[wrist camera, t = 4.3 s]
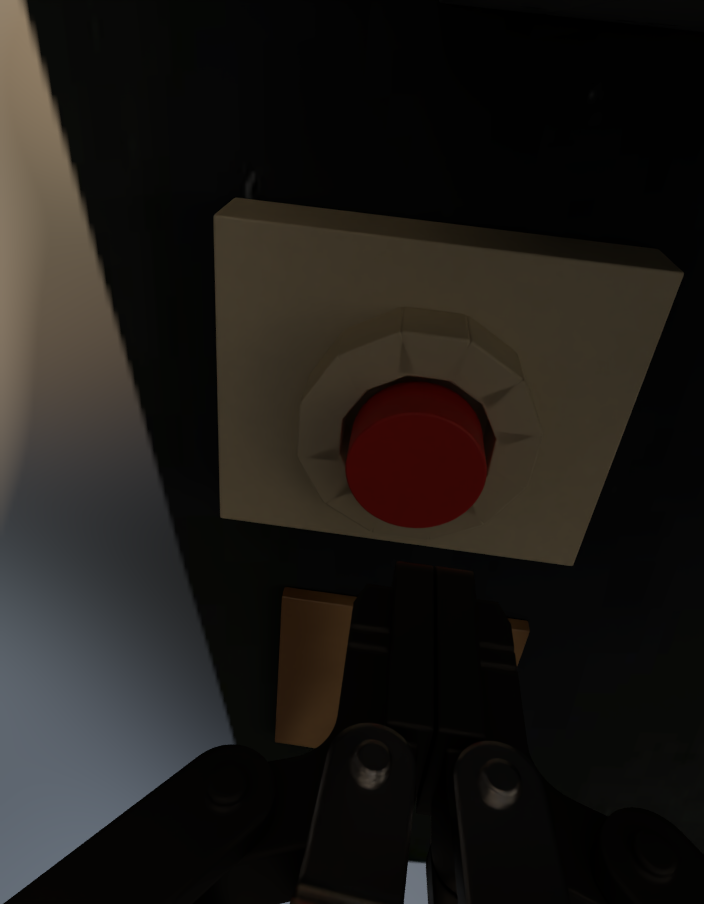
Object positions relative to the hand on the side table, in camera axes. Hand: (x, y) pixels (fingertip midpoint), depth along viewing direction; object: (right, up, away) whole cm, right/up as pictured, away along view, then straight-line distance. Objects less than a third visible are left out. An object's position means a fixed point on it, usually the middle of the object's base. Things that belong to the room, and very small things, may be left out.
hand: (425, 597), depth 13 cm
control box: (+1, +5, +8) cm, 10 cm away
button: (0, +3, +5) cm, 6 cm away
